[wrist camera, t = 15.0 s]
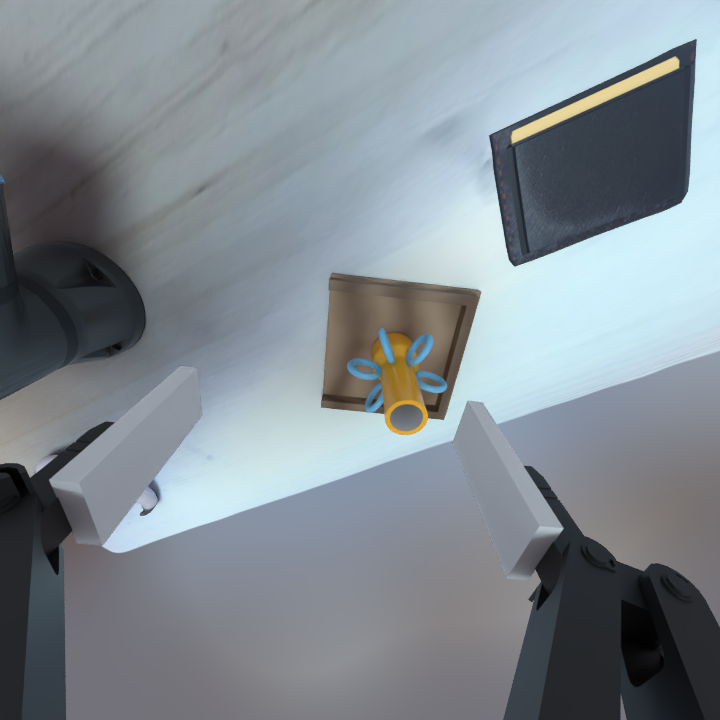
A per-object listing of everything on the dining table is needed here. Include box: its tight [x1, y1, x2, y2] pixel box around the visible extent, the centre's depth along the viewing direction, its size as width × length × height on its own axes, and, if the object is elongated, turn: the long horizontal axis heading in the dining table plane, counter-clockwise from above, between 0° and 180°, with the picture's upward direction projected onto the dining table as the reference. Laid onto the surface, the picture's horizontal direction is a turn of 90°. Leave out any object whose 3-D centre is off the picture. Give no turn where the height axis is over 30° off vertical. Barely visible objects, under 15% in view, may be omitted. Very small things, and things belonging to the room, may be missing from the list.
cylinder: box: [347, 328, 447, 435], centre depth 35 cm, size 12×10×15 cm
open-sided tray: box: [321, 273, 481, 420], centre depth 41 cm, size 19×19×3 cm
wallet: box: [489, 39, 697, 267], centre depth 33 cm, size 20×2×15 cm
